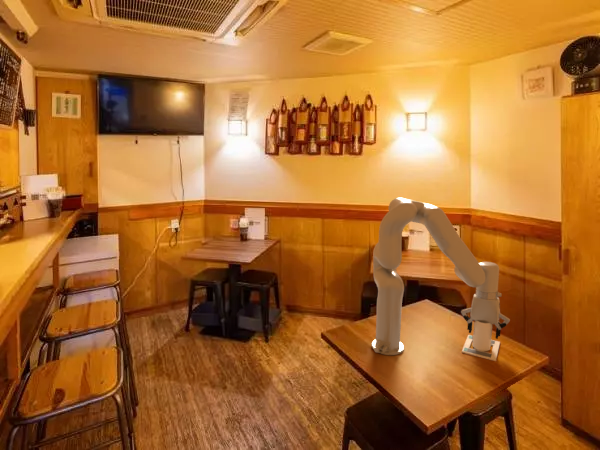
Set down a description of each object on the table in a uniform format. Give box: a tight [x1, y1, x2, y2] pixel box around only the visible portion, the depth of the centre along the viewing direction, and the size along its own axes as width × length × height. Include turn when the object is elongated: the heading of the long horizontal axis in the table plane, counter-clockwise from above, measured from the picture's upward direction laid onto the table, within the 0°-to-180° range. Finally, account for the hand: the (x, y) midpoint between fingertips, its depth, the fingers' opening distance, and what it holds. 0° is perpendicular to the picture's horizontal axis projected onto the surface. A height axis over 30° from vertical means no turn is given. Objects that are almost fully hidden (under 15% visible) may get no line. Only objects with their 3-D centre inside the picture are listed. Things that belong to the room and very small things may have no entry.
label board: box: [461, 334, 501, 362], centre depth 152 cm, size 16×12×1 cm
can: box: [472, 320, 493, 352], centre depth 151 cm, size 6×6×12 cm
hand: (483, 334), depth 151 cm, fingers open, 9 cm apart
